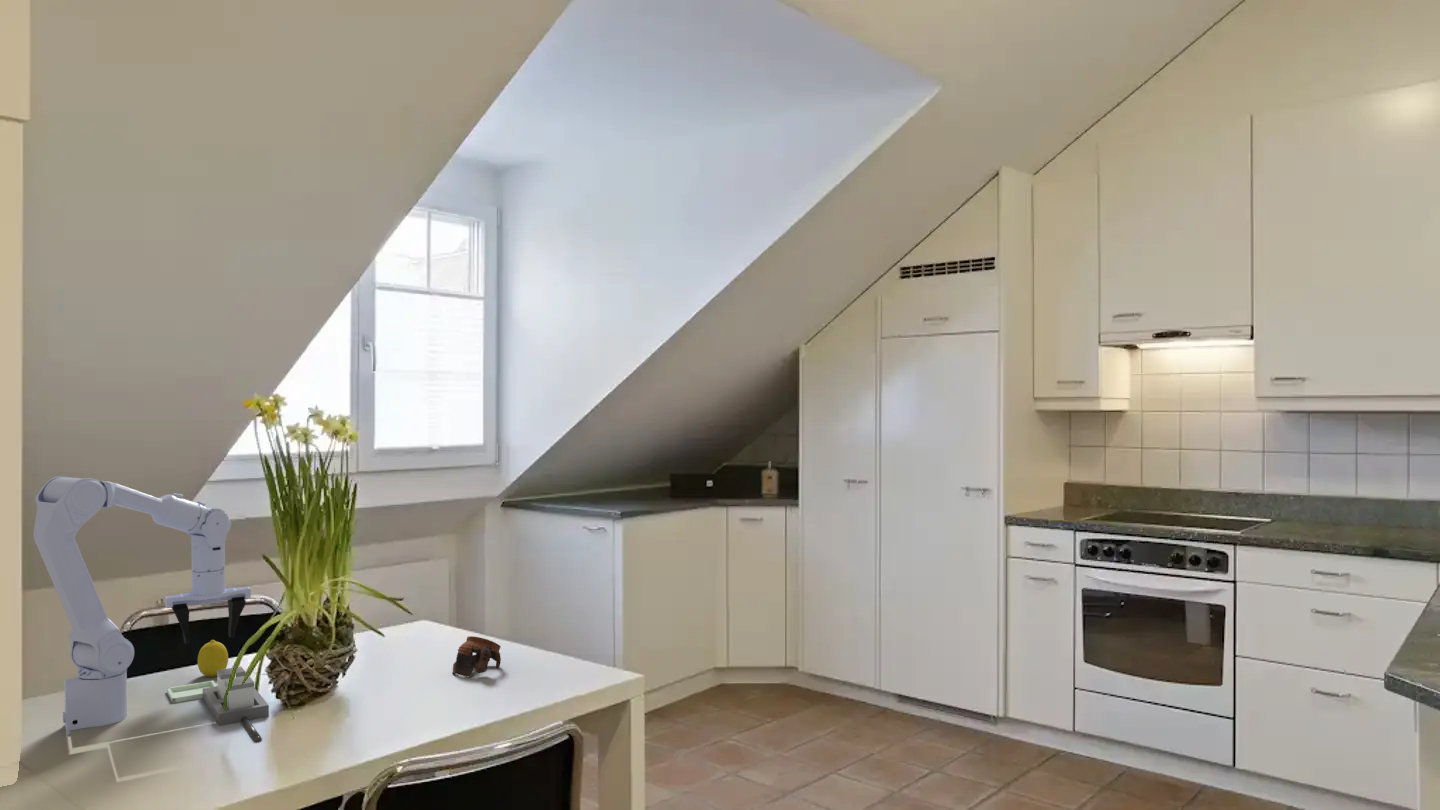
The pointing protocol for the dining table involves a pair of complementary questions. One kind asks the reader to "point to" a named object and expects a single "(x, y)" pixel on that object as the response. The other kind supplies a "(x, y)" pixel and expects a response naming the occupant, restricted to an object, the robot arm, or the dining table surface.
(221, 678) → the plug
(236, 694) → the twin plug
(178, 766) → the dining table surface
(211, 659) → the lemon
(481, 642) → the brown belt with pouches
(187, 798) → the dining table surface
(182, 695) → the tray
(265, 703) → the power strip
